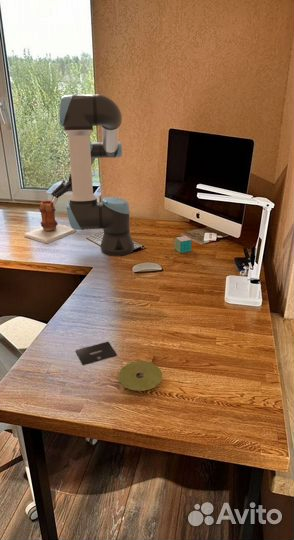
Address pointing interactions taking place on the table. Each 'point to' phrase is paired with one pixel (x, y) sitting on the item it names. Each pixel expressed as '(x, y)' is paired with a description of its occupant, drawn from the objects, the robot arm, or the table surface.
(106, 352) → the solid state drive
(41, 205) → the orange brown figurine
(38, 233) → the cream rectangular slab
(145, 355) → the table surface
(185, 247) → the puzzle toy
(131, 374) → the olive green disc
